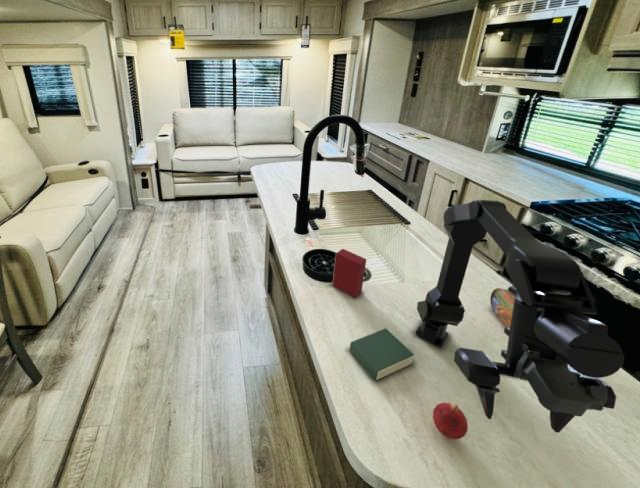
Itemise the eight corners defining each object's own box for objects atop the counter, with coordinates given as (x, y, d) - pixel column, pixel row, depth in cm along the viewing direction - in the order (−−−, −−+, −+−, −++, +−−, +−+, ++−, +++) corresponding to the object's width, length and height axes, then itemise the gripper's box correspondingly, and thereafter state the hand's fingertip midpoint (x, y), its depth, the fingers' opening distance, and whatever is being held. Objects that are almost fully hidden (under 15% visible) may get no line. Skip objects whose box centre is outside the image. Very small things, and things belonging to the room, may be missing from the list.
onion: (463, 454, 60) (473, 428, 57) (428, 437, 63) (437, 411, 60) (461, 426, 64) (471, 400, 61) (429, 412, 67) (437, 386, 64)
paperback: (361, 292, 103) (366, 259, 98) (355, 298, 100) (360, 264, 95) (338, 280, 109) (342, 248, 104) (332, 285, 106) (335, 252, 101)
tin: (486, 303, 97) (494, 281, 93) (498, 304, 96) (506, 282, 93) (519, 343, 83) (529, 319, 80) (532, 345, 82) (543, 320, 79)
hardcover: (384, 336, 86) (385, 328, 85) (412, 363, 78) (414, 355, 77) (349, 350, 82) (350, 342, 81) (375, 381, 74) (377, 372, 73)
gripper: (495, 353, 43) (481, 455, 44) (668, 380, 39) (645, 492, 40) (458, 313, 53) (447, 397, 55) (590, 331, 49) (574, 421, 51)
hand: (520, 423), depth 50 cm, fingers open, 9 cm apart
